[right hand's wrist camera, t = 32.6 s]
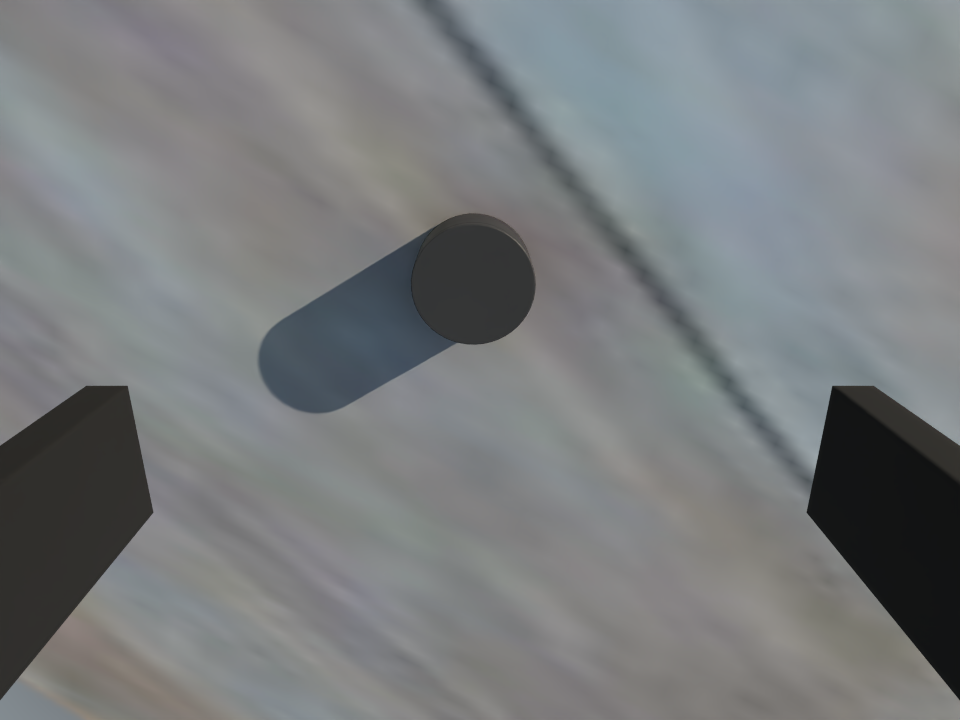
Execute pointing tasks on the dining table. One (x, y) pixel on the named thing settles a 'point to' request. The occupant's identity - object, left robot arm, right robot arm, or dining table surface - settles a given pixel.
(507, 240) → the cap
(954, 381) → the dining table surface
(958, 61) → the dining table surface
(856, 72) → the dining table surface
